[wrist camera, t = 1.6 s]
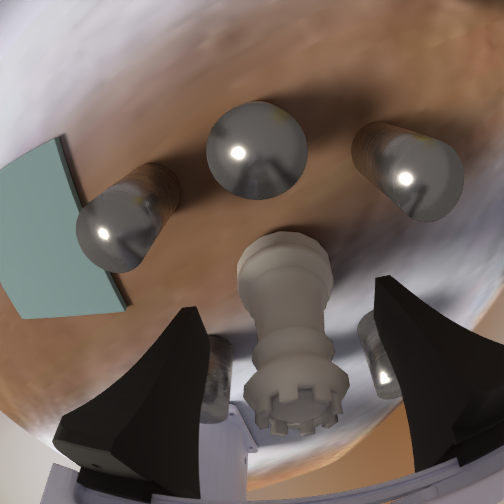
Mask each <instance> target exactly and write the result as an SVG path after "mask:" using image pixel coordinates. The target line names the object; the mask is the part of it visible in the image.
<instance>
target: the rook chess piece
mask: <svg viewBox="0 0 504 504" xmlns="http://www.w3.org/2000/svg"><path fill="white" fill-rule="evenodd" d="M333 280H334V279H333V275H332V271H331V266H330V261H329V257H328V253H327V252H326V251H325V250H324V249H323V248H322V246H321V245H320V244H319V243H318V242H317V241H316V240H314V239H312V238H310V237H308V236H306V235H304V234H302V233H299V232H283V231H279V232H276V233H272V234H269V235H266V236H262V237H260V238H259V239H257V240H256V241H255V242H253V243H252V244H251V245H250V246H248V247H247V248H246V249H245V251H244V252H243V254H242V256H241V258H240V260H239V262H238V264H237V281H238V283H237V291H238V294H239V296H240V298H241V300H242V303H243V305H244V307H245V309H246V310H247V311H249V313H250V315H251V317H252V318H253V319H254V320H255V325H256V331H257V336H258V344H257V345H256V346H255V348H254V349H253V352H252V362H253V364H254V366H255V367H256V369H257V370H258V371H257V372H256V373H255V374H254V375H253V376H252V377H251V378H250V380H249V381H248V382H247V383H246V384H245V385H244V395H243V397H244V399H245V400H246V402H247V403H248V404H249V406H250V407H251V408H252V409H253V410H254V411H255V423H256V425H257V426H258V427H259V428H260V430H261V429H265V428H269V422H271V435H277V436H283V437H285V436H286V435H287V434H288V427H287V425H299V429H300V436H306V435H311V434H315V427H314V422H315V421H317V420H320V419H321V420H322V427H326V428H330V427H331V426H333V425H334V424H335V423H337V422H338V417H337V414H343V411H342V406H341V401H342V399H343V398H344V396H345V394H346V392H347V390H348V388H349V386H350V384H349V378H348V374H346V373H345V372H344V371H343V370H342V369H341V368H339V367H338V366H337V365H335V364H334V363H332V362H331V361H332V358H333V356H334V353H335V350H334V346H333V342H332V341H331V340H330V339H329V338H328V337H327V336H326V335H325V332H324V310H325V308H326V305H327V302H328V301H329V299H330V295H331V291H332V287H333Z"/></svg>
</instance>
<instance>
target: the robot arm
mask: <svg viewBox="0 0 504 504" xmlns="http://www.w3.org/2000/svg"><path fill="white" fill-rule="evenodd" d="M373 317H374V321H375V324H376V328H377V331H378V334H379V337H380V340H381V342H382V344H383V347H384V349H385V351H386V354H387V356H388V359H389V361H390V363H391V366H392V368H393V370H394V373H395V375H396V378H397V380H398V383H399V386H400V389H401V393H402V397H403V401H404V405H405V409H406V414H407V418H408V423H409V428H410V434H411V441H412V447H413V455H414V466H415V473H414V474H411V475H408V476H405V477H401V478H398V479H395V480H391V481H388V482H384V483H380V484H376V485H372V486H368V487H363V488H359V489H355V490H349V491H344V492H339V493H333V494H327V495H320V496H312V497H305V498H296V499H282V500H266V501H246V494H247V466H248V453H256V452H258V447H257V445H256V443H255V441H254V440H253V438H252V436H251V434H250V432H249V430H248V428H247V426H246V424H245V422H244V420H243V418H242V416H241V414H240V412H239V410H238V408H237V407H236V406H235V405H232V404H229V412H228V418H227V419H226V420H225V421H223V422H221V423H217V424H202V423H200V413H201V406H202V400H203V395H204V389H205V384H206V379H207V373H208V368H209V360H210V339H209V337H208V334H207V332H206V330H205V327H204V325H203V322H202V320H201V317H200V315H199V312H198V310H197V307H196V306H194V307H185V308H182V309H181V310H180V311H179V312H178V314H177V315H176V316H175V317H174V319H173V320H172V321H171V322H170V324H169V325H168V326H167V328H166V329H165V330H164V331H163V333H162V334H161V335H160V336H159V338H158V339H157V340H156V341H155V343H154V344H153V345H152V346H151V347H150V348H149V349H148V351H147V352H146V353H145V354H144V355H143V356H142V357H141V359H140V360H139V361H138V362H137V363H136V364H135V365H134V366H133V367H132V368H131V369H130V370H129V371H128V372H127V373H125V374H124V375H123V376H122V377H121V378H120V379H119V380H117V381H116V382H115V383H114V384H112V385H111V386H110V387H109V388H108V389H106V390H105V391H104V392H102V393H101V394H99V395H98V396H97V397H95V398H94V399H92V400H90V401H89V402H87V403H86V404H84V405H82V406H81V407H79V408H77V409H75V410H73V411H71V412H70V413H68V414H66V415H64V416H62V418H61V421H60V423H59V425H58V428H57V430H56V433H55V435H54V438H53V441H52V442H53V444H54V446H55V447H56V449H57V450H58V451H60V452H61V453H62V454H63V455H65V456H66V457H68V458H69V459H70V460H72V461H73V462H75V463H76V464H77V465H79V466H80V467H81V469H80V472H77V471H75V470H73V469H70V468H67V467H64V466H61V465H59V464H55V463H54V464H53V465H52V468H51V471H50V474H49V477H48V480H47V483H46V486H45V490H44V493H43V496H42V499H41V503H40V504H381V503H385V502H389V501H392V500H396V499H399V498H401V499H399V500H396V501H394V502H391V504H497V503H499V502H500V501H502V500H503V499H504V345H503V344H500V343H497V342H494V341H492V340H489V339H487V338H484V337H482V336H480V335H478V334H476V333H474V332H471V331H469V330H468V329H466V328H464V327H462V326H460V325H458V324H457V323H455V322H453V321H451V320H450V319H448V318H447V317H445V316H443V315H442V314H440V313H439V312H438V311H436V310H435V309H433V308H432V307H430V306H429V305H427V304H426V303H425V302H423V301H422V300H421V299H419V298H418V297H417V296H416V295H414V294H413V293H412V292H410V291H409V290H408V289H407V288H405V287H404V286H403V285H402V284H400V283H399V282H398V281H397V280H395V279H394V278H393V277H391V276H390V275H387V276H382V277H377V278H375V297H374V313H373ZM402 497H404V498H402Z"/></svg>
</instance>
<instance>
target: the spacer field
mask: <svg viewBox="0 0 504 504" xmlns="http://www.w3.org/2000/svg"><path fill="white" fill-rule="evenodd" d="M351 151H352V159H353V162H354V164H355V166H356V168H357V169H358V171H359V172H360V173H361V174H363V175H364V176H365V177H366V178H367V179H368V180H370V181H371V182H372V183H373V184H374V185H375V186H376V187H378V188H379V189H380V190H381V191H382V192H383V193H384V194H385V195H386V196H388V197H389V198H390V199H391V200H392V201H393V202H394V203H395V204H396V205H397V206H398V207H399V208H400V209H402V210H403V211H404V212H405V213H406V214H407V215H408V216H409V217H411V218H412V219H414V220H417V221H420V222H432V221H436V220H438V219H440V218H442V217H444V216H445V215H447V214H448V213H449V212H450V211H451V210H452V209H453V208H454V206H455V205H456V204H457V202H458V200H459V198H460V196H461V193H462V190H463V185H464V169H463V165H462V162H461V159H460V157H459V155H458V154H457V152H456V151H455V150H454V149H453V148H452V147H451V146H450V145H448V144H447V143H445V142H442V141H440V140H437V139H434V138H432V137H429V136H426V135H423V134H420V133H417V132H414V131H411V130H408V129H404V128H401V127H398V126H395V125H391V124H388V123H384V122H373V123H369V124H367V125H365V126H364V127H363V128H361V129H360V130H359V131H358V133H357V134H356V136H355V138H354V140H353V143H352V150H351ZM206 154H207V161H208V165H209V168H210V170H211V172H212V174H213V176H214V178H215V179H216V180H217V181H218V183H219V184H220V185H221V186H222V187H223V188H225V189H226V190H227V191H229V192H230V193H232V194H234V195H236V196H239V197H242V198H246V199H252V200H263V199H269V198H273V197H276V196H278V195H280V194H282V193H284V192H286V191H287V190H288V189H290V188H291V187H292V186H293V185H294V184H295V183H296V182H297V181H298V179H299V178H300V176H301V175H302V173H303V171H304V169H305V166H306V162H307V156H308V148H307V141H306V137H305V135H304V132H303V130H302V128H301V127H300V125H299V124H298V122H297V121H296V120H295V119H294V118H293V117H292V116H291V115H290V114H288V113H287V112H286V111H284V110H282V109H281V108H279V107H277V106H275V105H273V104H270V103H268V102H264V101H251V102H247V103H245V104H242V105H240V106H238V107H235V108H233V109H231V110H230V111H228V112H227V113H225V114H224V115H223V116H222V117H221V118H220V119H219V120H218V121H217V122H216V124H215V125H214V126H213V128H212V130H211V132H210V135H209V137H208V141H207V148H206ZM180 194H181V192H180V186H179V183H178V180H177V178H176V177H175V175H174V174H173V173H172V172H171V171H170V170H169V169H167V168H166V167H164V166H162V165H159V164H152V163H150V164H144V165H141V166H139V167H138V168H136V169H135V170H133V171H132V172H130V173H129V174H127V175H126V176H125V177H123V178H122V179H120V180H119V181H117V182H116V183H115V184H113V185H112V186H111V187H109V188H108V189H107V190H105V191H104V192H103V193H101V194H100V195H99V196H97V197H96V198H95V199H93V200H92V201H91V202H89V203H88V204H87V205H86V206H85V207H84V208H83V209H82V210H81V211H80V213H79V215H78V218H77V221H76V236H77V240H78V243H79V245H80V247H81V249H82V251H83V252H84V254H85V255H86V257H87V258H88V259H89V260H90V261H91V262H92V263H94V264H95V265H96V266H98V267H100V268H101V269H103V270H106V271H109V272H113V273H125V272H129V271H131V270H133V269H135V268H136V267H137V266H138V265H139V264H140V263H141V262H142V260H143V259H144V257H145V255H146V254H147V252H148V250H149V249H150V247H151V246H152V244H153V243H154V241H155V239H156V238H157V236H158V235H159V233H160V232H161V230H162V228H163V227H164V225H165V224H166V222H167V221H168V219H169V218H170V216H171V215H172V213H173V212H174V210H175V209H176V207H177V206H178V204H179V201H180ZM373 313H374V310H373V311H371V312H370V313H368V314H367V315H365V316H364V317H363V318H362V319H361V321H360V322H359V324H358V328H357V331H358V335H359V338H360V341H361V344H362V347H363V350H364V353H365V356H366V359H367V363H368V366H369V369H370V372H371V376H372V379H373V382H374V386H375V389H376V392H377V395H378V396H379V397H380V398H382V399H394V398H398V397H401V396H402V393H401V389H400V386H399V383H398V380H397V378H396V375H395V373H394V370H393V368H392V366H391V363H390V361H389V359H388V356H387V354H386V351H385V349H384V347H383V344H382V342H381V340H380V337H379V334H378V331H377V328H376V324H375V321H374V317H373ZM208 337H209V339H210V360H209V368H208V373H207V379H206V384H205V389H204V395H203V400H202V406H201V413H200V423H202V424H217V423H221V422H223V421H225V420H226V419H227V418H228V412H229V400H230V388H231V377H232V365H233V354H234V350H233V347H232V345H231V344H230V343H229V342H228V341H227V340H225V339H223V338H221V337H218V336H213V335H208ZM320 424H322V420H321V419H320V420H317V421H315V422H314V427H315V426H318V425H320ZM287 427H288V428H291V429H299V425H287Z"/></svg>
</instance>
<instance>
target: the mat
mask: <svg viewBox="0 0 504 504" xmlns="http://www.w3.org/2000/svg"><path fill="white" fill-rule="evenodd" d="M82 209H83V208H82V206H81V203H80V200H79V198H78V195H77V192H76V189H75V186H74V183H73V181H72V178H71V175H70V172H69V169H68V166H67V162H66V159H65V156H64V153H63V149H62V146H61V143H60V139H59V137H57V138H54V139H52V140H50V141H49V142H47V143H45V144H43V145H41V146H39V147H38V148H36V149H34V150H32V151H30V152H29V153H27V154H25V155H24V156H22V157H20V158H19V159H17V160H15V161H14V162H12V163H10V164H9V165H7V166H6V167H4V168H3V169H1V170H0V282H1V284H2V286H3V288H4V290H5V291H6V293H7V295H8V297H9V298H10V300H11V302H12V303H13V305H14V307H15V308H16V310H17V311H18V313H19V314H20V316H21V318H22V319H35V318H51V317H65V316H79V315H91V314H103V313H113V312H124V311H125V310H126V308H127V306H126V304H125V302H124V300H123V298H122V296H121V294H120V292H119V290H118V288H117V286H116V284H115V282H114V280H113V278H112V276H111V274H110V272H109V271H106V270H103V269H101V268H100V267H98V266H96V265H95V264H94V263H92V262H91V261H90V260H89V259H88V258H87V257H86V255H85V254H84V252H83V251H82V249H81V247H80V245H79V243H78V240H77V236H76V221H77V218H78V215H79V213H80V211H81V210H82Z"/></svg>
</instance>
